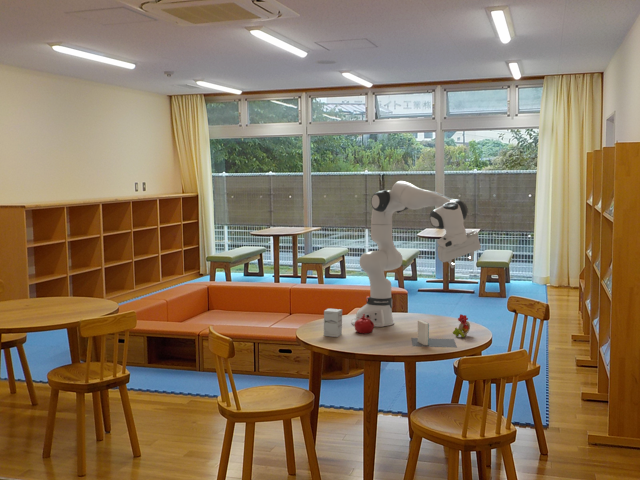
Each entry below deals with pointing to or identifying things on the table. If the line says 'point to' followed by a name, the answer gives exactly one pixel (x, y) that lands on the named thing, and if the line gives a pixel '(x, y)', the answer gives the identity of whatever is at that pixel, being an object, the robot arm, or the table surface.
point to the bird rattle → (462, 326)
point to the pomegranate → (364, 325)
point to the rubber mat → (435, 343)
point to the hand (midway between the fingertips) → (462, 264)
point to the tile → (423, 332)
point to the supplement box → (333, 322)
